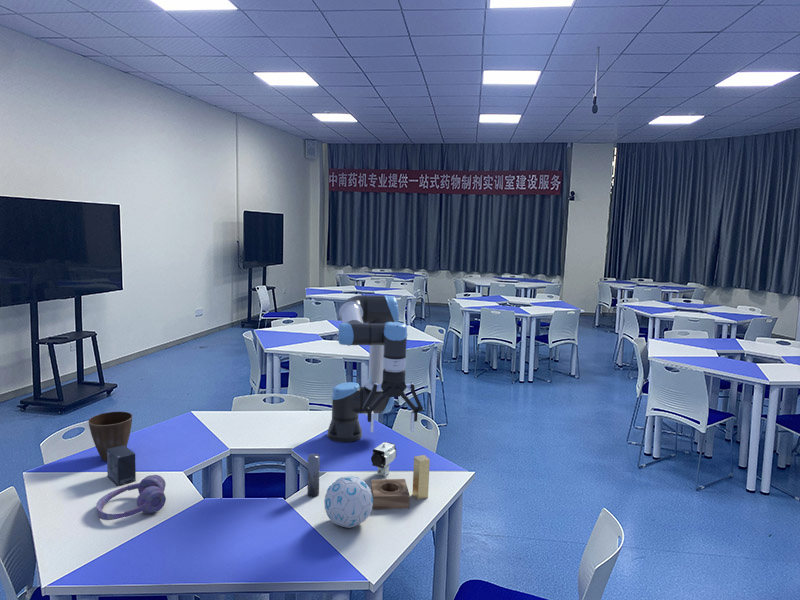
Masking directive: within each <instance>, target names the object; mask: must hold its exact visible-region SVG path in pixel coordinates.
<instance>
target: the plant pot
mask: <svg viewBox="0 0 800 600" xmlns="http://www.w3.org/2000/svg"><path fill="white" fill-rule="evenodd" d="M132 425H133V414H132V413H131V412H128V411H110V412H109V411H108V412H104V413H100V414H96V415H93V416H91V417H90V418H89V419H88V427H89V430H90V431H89V432H90V434H91V437H92V440H93V444H94V446H95V448H96V451H97V453H98V455H99V456H100V458H101V460H102V461H103V462H107V449H109V448H114V447H118V446H122V445H125V446H126V447H127V448H128V444H129V440H130V436H131V432H132V431H131V430H132Z"/></svg>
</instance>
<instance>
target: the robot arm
mask: <svg viewBox="0 0 800 600" xmlns="http://www.w3.org/2000/svg"><path fill="white" fill-rule="evenodd" d="M398 306H399V305H398V301H397V298H396V297H395V296H394V295H385V294H384V295H383V294H382V295H380V294H379V295H377V294H376V295H370V294H369V295H368V294H365V295H364V294H359V295H354V296H351V297H349V298H347V299H345V300H344V301H343V302H342V303H341V304H340V305H339V310H338V317H339V319H340V320H341V322H342V323H339V324H338V335H337V337H338V344H339V345H341V346H369V356H368V357H369V358H368V374H367V375H368V377H367V378H368V379H367V380H366V381H365V382H364V385H363V386H360V384H359V383H357V382H353V381H352V382H351V381H350V382H342V383H339V384H336V386H334V387H333V389H332V395H331V400H332V402H331V403H332V404H331V420H330V423H329V426H328V429H327V435H326V436H327V438H328V439H329V440H330V441H333V442H336V443H351V442H356V441H359V440H360V439H362V436H363V429H362V426H361V424H360V420H359V415H360V414H361V415H362V414H363V415H364V414H365V415H366V414H367V422H368V423H370V429H369V431H370V433H374V422H375V421H374V418H375V417H374V415H375V414H379V415H381V414H389V413H390V412H391V411H392V408H393V406H394V402H395V401H394V400H395V398H399V397H401V398H402V399H403V401H404V402H406V404H407V405H408V406H409V407H410V408H411V410H410V423H409V424H410V431H411V433H414V432H415V431H414V429H415V422H416V423H417V422H418V413H419V412H422V411H423V410H424V408H423V406H422V403H421V401H420V399H419V397H418V395H417V393H416V391H415V389H416V388H415V387H416V386H415V384H414V383H413V382H410V383H406V366H407V365H406V362H407V342H408V340H407V339H408V326H407V324H406V323H403V322H400V314H399V307H398ZM406 389H408V391H410V392H411V394H412V397H413V399H414V400H415V403H416V405H417V406H416V405H415V404H414V403H413V401H412V400H410V398H409V396H407V394H406V393H405V391H406Z"/></svg>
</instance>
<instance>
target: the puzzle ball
mask: <svg viewBox="0 0 800 600" xmlns="http://www.w3.org/2000/svg"><path fill="white" fill-rule="evenodd" d="M324 509H325V513H326V515H327V517H328V518H329V521H331V523H333V524H334V525H337V526H340V527H342V528H346V529H350V528H354V527H356V526H359V525H360V524H362V523H364V522H365V521H367V520H366V519H368V518H369V516H370V514H371V511H372V510H373V497H372V493H371V487H370V486H369V485H368V484H367V483H366V482H365V481H364V480H363V479H360V478H359V477H357V476H352V475H348V476H346V475H345V476H343V477H340V478H338V479H336V480H335V481H334V482H332V483H331V485H329V487H328V488H327V489H326V492H325V495H324Z"/></svg>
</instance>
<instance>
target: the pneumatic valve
mask: <svg viewBox="0 0 800 600" xmlns="http://www.w3.org/2000/svg"><path fill="white" fill-rule="evenodd" d="M371 455H372V456H371V459H370V461H371V465H372V466H374V467H377V474H378V475H377V476H381V477H382V476H383V477H384V476H385V477H386V476H387V474H388V475H389V474H390V466H391V465H390V464H391V463H392V462H393V461H395V459H396V458H397V448H396V443H391V442H387V441H384V442H382V443H381V444H379V445H377V446H376V447H375V448H373V449H372V454H371Z"/></svg>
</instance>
